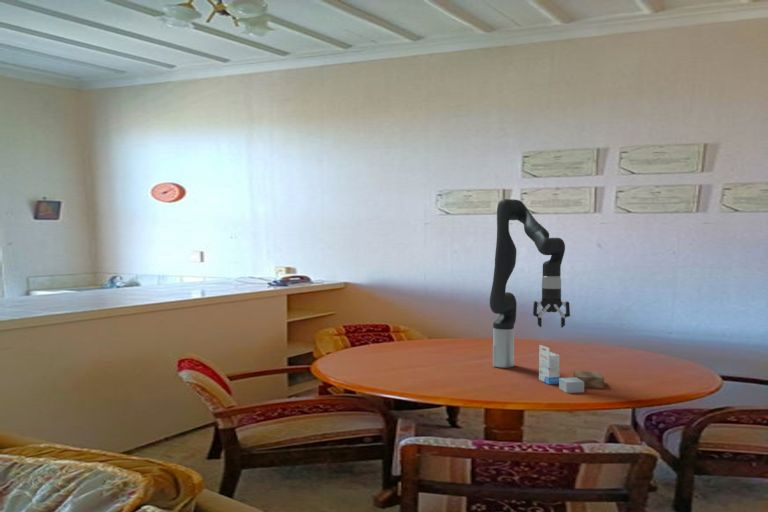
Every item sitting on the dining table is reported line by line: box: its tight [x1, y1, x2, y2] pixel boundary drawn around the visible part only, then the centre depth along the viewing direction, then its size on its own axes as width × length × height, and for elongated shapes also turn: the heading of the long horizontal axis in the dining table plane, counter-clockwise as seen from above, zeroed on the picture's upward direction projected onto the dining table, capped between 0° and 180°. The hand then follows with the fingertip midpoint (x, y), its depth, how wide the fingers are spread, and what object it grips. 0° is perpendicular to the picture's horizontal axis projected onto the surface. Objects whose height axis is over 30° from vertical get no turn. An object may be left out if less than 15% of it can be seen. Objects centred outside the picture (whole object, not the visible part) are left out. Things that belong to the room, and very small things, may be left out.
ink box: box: [538, 344, 561, 386], centre depth 247 cm, size 8×5×15 cm, turn 14°
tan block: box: [572, 370, 605, 389], centre depth 243 cm, size 10×10×4 cm
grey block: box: [558, 377, 585, 394], centre depth 234 cm, size 7×7×4 cm
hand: (551, 326), depth 247 cm, fingers open, 8 cm apart
